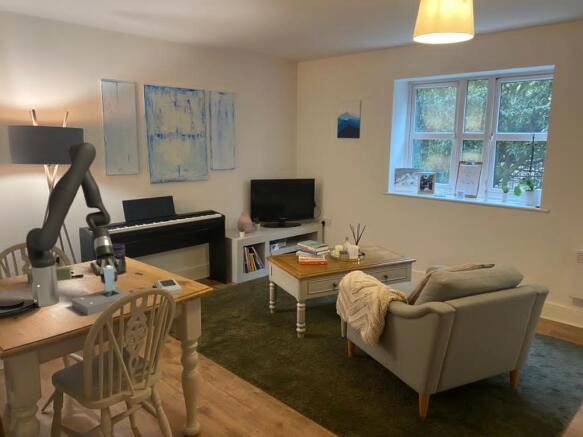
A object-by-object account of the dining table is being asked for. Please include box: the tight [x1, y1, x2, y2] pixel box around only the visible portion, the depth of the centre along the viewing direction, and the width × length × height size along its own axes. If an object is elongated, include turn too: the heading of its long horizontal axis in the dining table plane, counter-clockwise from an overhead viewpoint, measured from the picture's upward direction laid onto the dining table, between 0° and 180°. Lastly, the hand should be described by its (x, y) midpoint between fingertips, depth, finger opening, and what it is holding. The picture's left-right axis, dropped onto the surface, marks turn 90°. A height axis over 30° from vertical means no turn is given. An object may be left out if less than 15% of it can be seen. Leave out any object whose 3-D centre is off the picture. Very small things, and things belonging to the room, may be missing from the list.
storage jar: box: [112, 242, 127, 276], centre depth 238 cm, size 10×10×15 cm
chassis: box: [71, 286, 129, 316], centre depth 195 cm, size 20×14×4 cm
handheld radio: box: [26, 265, 85, 285], centre depth 225 cm, size 7×3×25 cm
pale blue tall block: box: [103, 265, 116, 291], centre depth 197 cm, size 4×4×11 cm
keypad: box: [153, 278, 183, 295], centre depth 215 cm, size 10×4×15 cm
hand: (110, 281), depth 196 cm, fingers closed on pale blue tall block, 4 cm apart
